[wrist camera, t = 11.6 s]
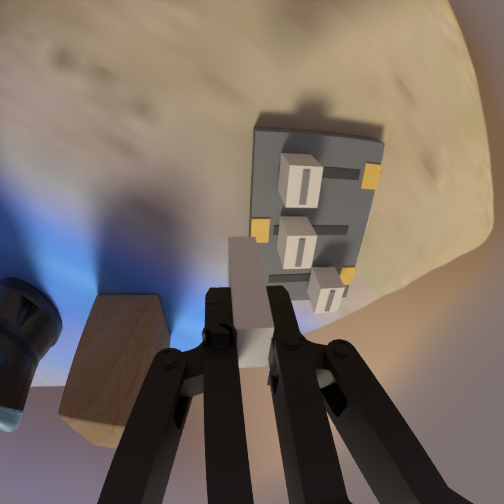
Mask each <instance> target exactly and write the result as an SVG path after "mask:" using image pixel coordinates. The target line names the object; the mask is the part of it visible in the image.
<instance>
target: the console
mask: <svg viewBox="0 0 504 504" xmlns="http://www.w3.org/2000/svg"><path fill="white" fill-rule="evenodd" d="M384 144H385V143H383V142H381V141H379V140H377V139H374V138H367V137H360V136H353V135H345V134H337V133H328V132H318V131H307V130H294V129H277V128H254V132H253V153H252V175H251V198H250V221H249V237H256V241H257V246H258V251H259V256H260V261H261V265H262V270H263V275H264V280H265V285H266V286H278V285H283V286H284V288H285V289H286V290H287V291H288V292H289V295H290V299H291V301H292V300H310V299H309V296H308V293H307V290H308V285H309V280H310V276H311V271H312V267H335V268H336V270H337V272H338V274H339V276H340V278H341V280H342V282H343V284H344V286H345V289H344V292H343V295H342V297H346V294H347V291H348V288H349V286H350V284H351V281H352V279H353V278H354V275H355V272H356V269H355V268H356V264H357V261H358V257H359V254H360V250H361V247H362V243H363V240H364V236H365V232H366V229H367V225H368V221H369V217H370V213H371V209H372V205H373V200H374V196H375V192H376V189H377V184H378V183H379V180H380V176H381V171H382V170H381V164H382V155H383V150H384ZM281 153H294V154H311V155H312V156H313V157H314V158H315V159H316V160H317V161H318V162H319V163H320V164H321V165H322V166H323V173H322V180H321V187H320V193H319V200H318V206H317V208H287V207H285V205H284V203H283V201H282V198H281V196H280V194H279V192H278V184H279V173H280V160H281ZM280 216H303V217H308V219H309V221H310V223H311V225H312V227H313V229H314V231H315V232H316V234H317V240H316V245H315V250H314V256H313V261H312V266H311V268H306V269H283V267H282V264H281V260H280V257H279V253H278V250H277V242H278V232H279V222H280Z"/></svg>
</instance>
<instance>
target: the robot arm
mask: <svg viewBox="0 0 504 504" xmlns="http://www.w3.org/2000/svg"><path fill="white" fill-rule="evenodd" d="M228 284H229V287H219V288H210V289H209V290H208V292H207V293H206V297H205V327H204V328H203V332H202V338H203V342H202V343H201V344H200V345H199V346H198V347H196V348H194V349H192V350H189V351H185V352H181V351H180V350H178V349H175V348H166V349H162V350H161V351H159V352H158V353H157V354H156V355H155V356H154V358H153V360H152V363H151V365H150V367H149V370H148V372H147V374H146V377H145V379H144V382H143V384H142V386H141V389H140V391H139V394H138V396H137V398H136V401H135V403H134V406H133V408H132V411H131V413H130V416H129V418H128V421H127V423H126V426H125V429H124V431H123V434H122V436H121V439H120V441H119V444H118V447H117V450H116V452H115V455H114V458H113V460H112V463H111V466H110V469H109V471H108V474H107V477H106V480H105V483H104V485H103V488H102V491H101V494H100V497H99V500H98V503H97V504H162V501H163V497H164V494H165V491H166V487H167V483H168V480H169V476H170V473H171V469H172V465H173V462H174V459H175V455H176V452H177V449H178V445H179V441H180V438H181V434H182V431H183V428H184V424H185V421H186V418H187V414H188V411H189V407H190V404H191V401H192V397H193V396H195V395H198V394H201V393H204V434H205V460H206V480H207V496H208V504H254V501H253V493H252V485H251V478H250V469H249V460H248V451H247V442H246V433H245V424H244V414H243V405H242V394H241V384H240V374H239V368H247V367H264V366H268V361H269V366H270V372H269V377H268V384H267V385H270V386H271V392H272V399H273V405H274V412H275V418H276V424H277V430H278V436H279V442H280V449H281V455H282V461H283V467H284V474H285V480H286V486H287V492H288V498H289V504H352V503H351V502H350V501H349V499H348V497H347V493H346V489H345V485H344V481H343V476H342V472H341V468H340V464H339V460H338V456H337V452H336V448H335V444H334V440H333V436H332V432H331V428H330V424H329V421H328V417H327V413H328V414H329V416H330V418H331V420H332V422H333V423H334V425H335V426H336V429H337V430H338V432H339V434H340V436H341V437H342V439H343V441H344V443H345V444H346V446H347V448H348V450H349V451H350V453H351V455H352V457H353V458H354V460H355V462H356V464H357V465H358V467H359V469H360V471H361V472H362V474H363V475H364V477H365V479H366V481H367V483H368V484H369V486H370V488H371V490H372V491H373V493H374V495H375V496H376V498H377V500H378V502H379V503H380V504H473V503H471V502H470V501H468V500H467V499H465V498H464V497H462V496H460V495H459V494H457V493H456V492H454V491H453V490H451V489H450V488H449V487H448V486H447V484H446V483H445V481H444V480H443V478H442V476H441V475H440V474H439V472H438V470H437V469H436V467H435V465H434V464H433V463H432V461H431V459H430V458H429V456H428V455H427V453H426V452H425V450H424V448H423V447H422V445H421V444H420V442H419V441H418V439H417V438H416V436H415V435H414V433H413V432H412V430H411V429H410V427H409V426H408V424H407V423H406V421H405V420H404V418H403V417H402V416H401V414H400V412H399V411H398V409H397V408H396V406H395V405H394V403H393V402H392V401H391V399H390V398H389V396H388V395H387V393H386V392H385V390H384V389H383V387H382V386H381V384H380V383H379V382H378V380H377V379H376V377H375V376H374V374H373V373H372V372H371V370H370V369H369V367H368V366H367V364H366V363H365V361H364V360H363V359H362V357H361V356H360V354H359V353H358V352H357V350H356V349H355V347H354V346H353V345H352V344H351V343H349V342H348V341H345V340H341V339H337V340H333V341H331V342H329V344H328V345H322V344H317V343H313V342H310V341H308V340H306V339H305V337H304V336H303V335H302V334H301V333H300V330H299V327H298V323H297V320H296V316H295V313H294V309H293V306H292V302H291V299H290V295H289V292H288V291H287V290H286V289H285V288H284V286H283V285H278V286H266V285H265V280H264V275H263V270H262V265H261V261H260V256H259V251H258V246H257V241H256V237H228ZM61 331H62V322H61V319H60V316H59V314H58V312H57V311H56V309H55V308H54V306H53V305H52V304H51V302H50V301H49V300H48V299H47V298H46V297H45V296H44V295H43V294H42V293H40V292H39V291H38V290H37V289H35V288H34V287H32V286H31V285H29V284H27V283H25V282H23V281H21V280H18V279H14V278H6V279H3V280H1V281H0V429H1V430H4V431H7V432H12V431H15V430H16V429H17V427H18V424H19V421H20V419H21V416H22V414H23V413H24V411H23V409H24V406H25V402H26V399H27V395H28V392H29V389H30V386H31V383H32V380H33V377H34V374H35V371H36V368H37V366H38V363H39V361H40V360H41V359H42V358H43V357H44V355H45V354H46V353H47V352H48V350H49V349H50V347H52V346H54V345H55V344H56V342H57V341H58V338H59V336H60V334H61ZM326 411H327V413H326Z"/></svg>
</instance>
